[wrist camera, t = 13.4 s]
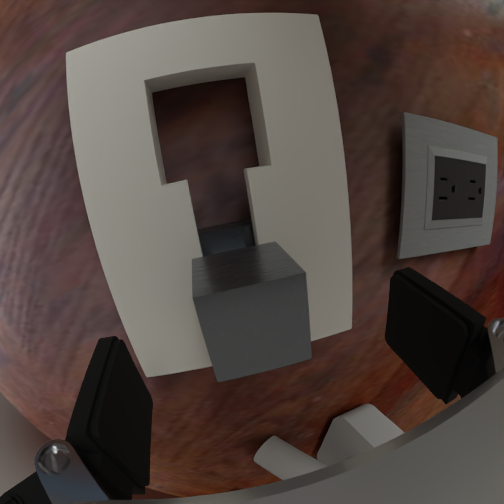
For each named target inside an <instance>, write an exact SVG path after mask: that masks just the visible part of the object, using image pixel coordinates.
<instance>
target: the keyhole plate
mask: <svg viewBox="0 0 504 504" xmlns="http://www.w3.org/2000/svg"><path fill="white" fill-rule="evenodd" d="M66 74H67V91H68V103H69V114H70V122H71V130H72V138H73V145H74V151H75V157H76V163H77V169H78V174H79V179H80V184H81V189H82V193H83V198H84V202H85V206H86V211H87V215H88V219H89V223H90V226H91V230H92V234H93V238H94V241H95V245H96V248H97V251H98V255H99V258H100V261H101V264H102V268H103V271H104V274H105V277H106V280H107V283H108V286H109V288H110V291H111V294H112V297H113V300H114V302H115V305H116V308H117V310H118V313H119V315H120V318H121V321H122V323H123V326H124V328H125V330H126V333H127V335H128V338H129V340H130V342H131V345H132V347H133V349H134V351H135V354H136V356H137V358H138V360H139V363H140V365H141V367H142V369H143V371H144V373H145V375H146V377H153V376H160V375H166V374H172V373H178V372H184V371H190V370H195V369H200V368H205V367H210V366H212V363H211V360H210V357H209V354H208V350H207V347H206V344H205V340H204V337H203V334H202V330H201V327H200V323H199V320H198V316H197V313H196V309H195V305H194V302H193V298H192V259H194V258H199V257H203V254H202V249H201V244H200V240H199V235H198V230H197V225H196V221H195V216H194V211H193V206H192V201H191V196H190V190H189V185H188V180H183V181H178V182H173V183H169V184H167V181H166V176H165V171H164V165H163V160H162V154H161V148H160V143H159V137H158V130H157V124H156V118H155V111H154V104H153V97H152V93H153V92H158V91H162V90H167V89H171V88H176V87H181V86H187V85H192V84H198V83H204V82H211V81H218V80H226V79H234V78H243V77H245V81H246V87H247V93H248V99H249V105H250V111H251V117H252V124H253V130H254V136H255V142H256V149H257V155H258V162H259V166H258V167H252V168H246V169H244V176H245V182H246V188H247V194H248V200H249V207H250V213H251V219H252V226H253V232H254V238H255V245H260V244H265V243H270V242H275V241H276V242H277V243H278V244H279V245H280V246H281V247H282V248H283V250H284V251H285V252H286V253H287V254H288V255H289V256H290V257H291V258H292V259H293V260H294V261H295V262H296V263H297V264H298V265H299V266H300V267H301V268H302V269H303V270H304V271H305V272H306V279H307V291H308V304H309V319H310V334H311V341H314V340H318V339H321V338H324V337H327V336H331V335H334V334H337V333H340V332H343V331H346V330H349V329H352V249H351V227H350V211H349V198H348V186H347V176H346V166H345V157H344V149H343V141H342V133H341V126H340V119H339V113H338V107H337V101H336V95H335V89H334V84H333V78H332V73H331V68H330V63H329V59H328V54H327V49H326V45H325V41H324V36H323V32H322V28H321V24H320V20H319V17H318V15H315V14H299V13H243V14H228V15H216V16H207V17H199V18H192V19H185V20H179V21H174V22H168V23H163V24H158V25H154V26H149V27H145V28H141V29H137V30H133V31H129V32H125V33H122V34H118V35H115V36H112V37H108V38H105V39H102V40H99V41H96V42H93V43H90V44H88V45H85V46H82V47H79V48H77V49H74V50H72V51H69V52H67V53H66Z"/></svg>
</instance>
